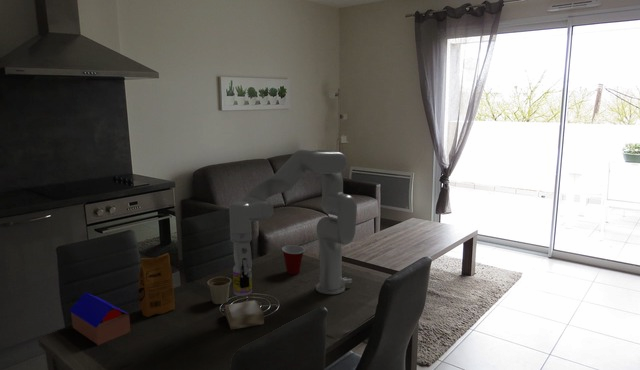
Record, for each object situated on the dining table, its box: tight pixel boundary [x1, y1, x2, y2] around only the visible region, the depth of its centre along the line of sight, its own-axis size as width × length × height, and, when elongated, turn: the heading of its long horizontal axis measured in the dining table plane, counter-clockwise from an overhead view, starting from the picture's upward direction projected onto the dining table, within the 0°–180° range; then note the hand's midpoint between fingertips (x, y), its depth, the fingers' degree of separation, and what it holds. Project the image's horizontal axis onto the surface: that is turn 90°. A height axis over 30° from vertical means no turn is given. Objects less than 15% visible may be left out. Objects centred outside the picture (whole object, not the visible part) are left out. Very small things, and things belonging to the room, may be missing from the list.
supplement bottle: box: [232, 260, 253, 297], centre depth 163 cm, size 7×7×13 cm
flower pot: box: [207, 276, 232, 305], centre depth 181 cm, size 9×9×9 cm
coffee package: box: [137, 252, 176, 318], centre depth 172 cm, size 10×12×22 cm
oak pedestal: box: [224, 299, 265, 330], centre depth 166 cm, size 12×12×4 cm
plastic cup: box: [281, 244, 306, 276], centre depth 211 cm, size 11×11×12 cm
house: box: [69, 292, 131, 346], centre depth 158 cm, size 12×20×12 cm, turn 51°
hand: (242, 283), depth 164 cm, fingers closed on supplement bottle, 6 cm apart
